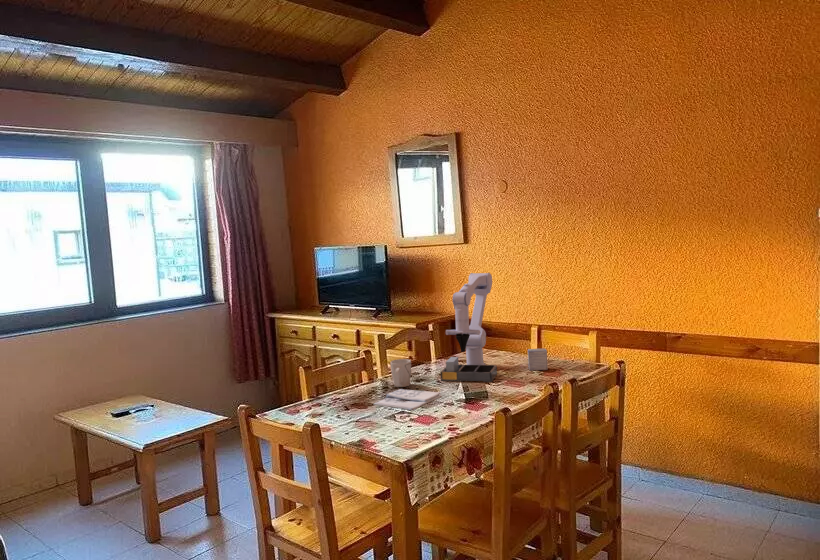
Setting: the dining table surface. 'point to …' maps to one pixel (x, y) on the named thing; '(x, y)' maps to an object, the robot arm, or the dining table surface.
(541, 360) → the medicine box
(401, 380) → the mug
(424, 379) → the dining table surface
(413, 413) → the dining table surface
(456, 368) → the panel
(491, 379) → the rack
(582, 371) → the dining table surface
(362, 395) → the dining table surface
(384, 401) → the open book
